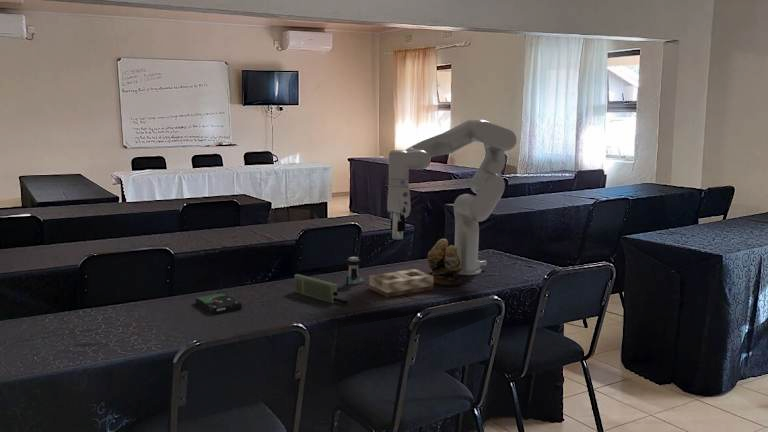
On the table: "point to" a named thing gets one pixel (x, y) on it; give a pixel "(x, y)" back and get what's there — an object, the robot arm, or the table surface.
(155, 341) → the table surface
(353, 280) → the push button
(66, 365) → the table surface
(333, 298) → the handheld radio
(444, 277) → the tan lumpy piece
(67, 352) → the table surface
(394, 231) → the pin
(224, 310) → the disk drive
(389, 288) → the socket block
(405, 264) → the table surface
